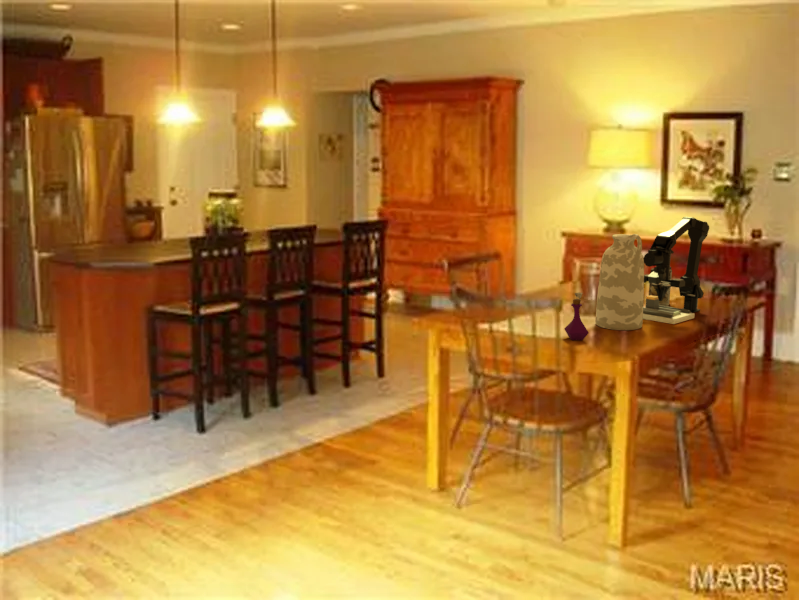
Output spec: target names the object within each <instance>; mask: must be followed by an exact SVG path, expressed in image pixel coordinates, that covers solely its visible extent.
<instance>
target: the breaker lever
mask: <svg viewBox="0 0 799 600" xmlns="http://www.w3.org/2000/svg"><path fill="white" fill-rule="evenodd" d="M645 306H646V308H651V309H657V310H659V299H658V296H652V295H650V296H649V295H647V296H646V297H645Z"/></svg>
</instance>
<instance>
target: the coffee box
mask: <svg viewBox="0 0 799 600" xmlns="http://www.w3.org/2000/svg"><path fill="white" fill-rule="evenodd" d="M653 271H654V267H652V268H651V269H650V273H651V272H653ZM650 273H649V274H650ZM672 275H673V270H672V269H670V273H669V276H670V277H671V279H669V280H672ZM651 284H652V283H649V284H648V285H649V287H648V296H650V295H652V296H658V295H657V292H656V290H655V288H654V287H653V286H651ZM661 284H662V283H661ZM670 296H671V287H670V288H669V289H668V291H667V292H666V294H665V296H664V298H663V300H662V301H659V305H661V306H667V307H669V305H670V298H671V297H670Z"/></svg>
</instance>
